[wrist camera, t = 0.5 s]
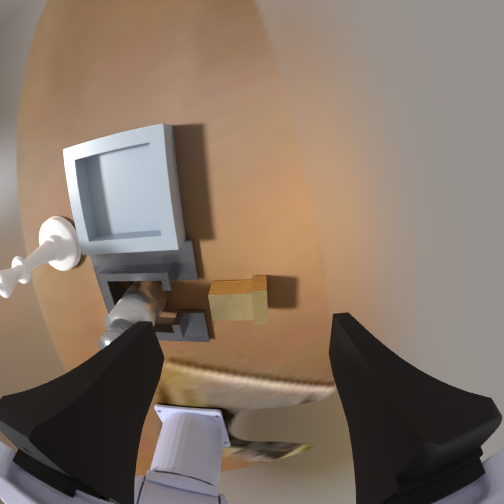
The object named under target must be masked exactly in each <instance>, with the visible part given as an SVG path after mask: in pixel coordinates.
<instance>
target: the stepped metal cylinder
mask: <svg viewBox="0 0 504 504" xmlns="http://www.w3.org/2000/svg"><path fill="white" fill-rule="evenodd" d="M166 303H167V293H166V291H163V287H162V285H161V284H160V283H159V282H158V281H134V283H133V284H132V285H131V286H130V287H129V289H128V290H127V291H126V292H125V294H124V295H123V296H122V298H121V299H120V300H119V301H118V303H117V304H116V305H115V307H114V308H113V309H112V310H111V312H110V313H109V314H108V316H107V317H106V319H105V328H106V331H105V333H104V334H103V335H102V337H101V338H100V340H99V343H98V344H99V348H100V350H102V349H103V348H105V347H106V346H107V345H108V344H110V343H111V342H112V341H113V340H115V339H116V338H117V337H118V336H120V335H121V334H122V333H123V332H125V331H126V330H127V329H128V328H130V327H131V326H132V325H134V324H135V323H137V322H138V321H152V324H153V327H154V326H155V324H156V322H157V320H158V318H159V316H160V314H161V312H162V310H163V309H164V307H165V305H166Z"/></svg>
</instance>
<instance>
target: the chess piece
mask: <svg viewBox="0 0 504 504" xmlns="http://www.w3.org/2000/svg"><path fill="white" fill-rule="evenodd" d="M39 243H40V246H39V247H38V248H37V249H36V250H35V251H34V252H33V253H32V254H31V255H30V256H28V257H27V258H26V259H25V260H23V259H22V258H21V257H19V256H17V257H15V258H14V259H13V261H12V268H9V269H5V270H0V295H1V296H3V297H5V298H8V297H10V295H11V294H12V292H13V290H14V288H15V286H16V285H17V283H18V281H20V282H21V283H24V284H25V283H28V282H29V281H30V278H31V275H30V271H32V270H34V269H35V268H37V267H39V266H41V265H43V264H45V263H47V262H48V263H49V264H50V265H51V266H53V267H54V268H56V269H58V270H61V271H66V270H69V269H71V268H73V267H75V266H76V265H77V264H78V262H79V260H80V257H81V248H80V244H79V240H78V236H77V231H76V230H75V228H74V227H73V225H72V224H71V223H70V222H69V221H68V220H67V219H65V218H63V217H61V216H53V217H51V218H49V219H48V220H47V221H45V222H44V223H43V225H42V227H41V229H40V233H39Z"/></svg>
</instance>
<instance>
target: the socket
mask: <svg viewBox="0 0 504 504" xmlns="http://www.w3.org/2000/svg"><path fill="white" fill-rule="evenodd" d="M90 256H91V260H92V263H93V267H94V270H95V274H96V277H97V280H98V284H99V287H100V290H101V293H102V296H103V299H104V302H105V305H106V308H107V310H108V313H110V312H111V310H112V309H113V308H114V307H115V305H116V304H117V303H118V301H119V300H120V299H121V298H122V296H123V295H124V294H125V292H124V289H123V285H122V282H121V281H161V283H162V287H163V291H171V290H172V288H173V286H174V285H175V283H176V281H177V280H191V279H198V277H199V275H198V269H197V263H196V256H195V250H194V243H193V239H186V240H185V241H184V243H183V244H182V246H181V247H180V248H179V250H163V251H145V252H128V253H111V254H94V255H90ZM154 330H155V333H156V335H157V338H158V340H165V341H194V342H209V341H210V336H209V331H208V326H207V321H206V315H205V310H178V312H177V315H176V317H175V318H158V320H157V322H156V324H155V326H154Z"/></svg>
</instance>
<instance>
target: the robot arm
mask: <svg viewBox="0 0 504 504" xmlns="http://www.w3.org/2000/svg"><path fill="white" fill-rule="evenodd" d="M329 357H330V362H331V368H332V373H333V377H334V380H335V383H336V386H337V389H338V393H339V396H340V399H341V402H342V405H343V409H344V412H345V415H346V419H347V422H348V427H349V433H350V439H351V445H352V453H353V461H354V471H355V484H356V504H504V448H502V449H501V450H500V451H498V452H497V453H495V454H494V455H492V456H491V457H489V458H488V459H486V460H485V461H484V462H482V463H481V460H480V458H479V457H481V456H482V455H483V451H482V449H481V447H480V446H481V445H482V444H483V443H484V442H485V441H486V440H487V439H488V438H489V437H490V436H491V435H492V434H493V433H494V432H495V430H496V429H497V428H498V427H499V425H500V423H501V421H502V415H501V413H500V412H499V410H498V408H497V407H496V405H495V403H494V402H493V400H492V399H491V398H488V397H484V396H481V395H477V394H474V393H470V392H466V391H464V390H461V389H458V388H456V387H453V386H451V385H448V384H446V383H444V382H441V381H439V380H437V379H435V378H433V377H431V376H429V375H428V374H426V373H424V372H422V371H420V370H419V369H417V368H416V367H414V366H412V365H411V364H409V363H408V362H406V361H405V360H403V359H401V358H400V357H399V356H398V355H396V354H395V353H394V352H392V351H391V350H390V349H388V348H387V347H386V346H385V345H383V344H382V343H381V342H380V341H379V340H378V339H376V338H375V337H374V336H373V335H372V334H371V333H369V331H368V330H366V329H365V328H364V327H363V326H362V325H361V324H360V323H359V322H358V321H357V320H356V319H355V318H354V317H352V316H351V315H350V314H349V313H348V312H347V313H338V314H333V320H332V329H331V338H330V347H329ZM163 362H164V355H163V352H162V350H161V347H160V344H159V341H158V338H157V335H156V333H155V330H154V327H153V324H152V321H138V322H137V323H135V324H134V325H132V326H131V327H130V328H128V329H127V330H126V331H125V332H123V333H122V334H121V335H120V336H118V337H117V338H116V339H115V340H113V341H112V342H111V343H110V344H108V345H107V346H106V347H105V348H103V349H102V350H101V351H99V352H98V353H96V354H95V355H94V356H92V357H91V358H90V359H88V360H87V361H85V362H84V363H82V364H81V365H79V366H78V367H76V368H74V369H73V370H71V371H69V372H68V373H66V374H64V375H63V376H60V377H58V378H56V379H54V380H52V381H50V382H48V383H45V384H43V385H40V386H38V387H36V388H33V389H30V390H26V391H23V392H19V393H16V394H11V395H7V396H3V397H2V398H1V399H0V431H1V432H2V433H3V434H4V435H5V436H6V437H7V438H8V439H9V440H10V441H11V442H12V443H13V444H14V445H15V446H16V447H17V448H18V451H17V453H16V452H15V451H13V450H12V449H11V448H9V447H8V446H7V445H5V444H4V443H2V442H1V441H0V499H1V500H2V501H3V502H4V503H5V504H111V503H114V504H229V501H228V500H227V498H226V497H225V496H224V494H219V487H217V484H218V482H219V479H220V470H221V461H222V452H223V447H230V446H231V443H230V440H229V437H228V433H227V430H226V426H225V423H224V419H223V416H222V412H221V411H220V410H218V409H201V408H188V407H177V406H167V405H159V404H156V405H155V406H154V408H155V410H156V412H157V414H158V416H159V417H160V419H161V421H162V423H163V426H162V429H161V432H160V436H159V439H158V443H157V446H156V450H155V454H154V457H153V461H152V465H151V468H150V470H148V471H147V475H146V477H145V476H144V475H139V476H137V477H135V471H136V461H137V455H138V448H139V442H140V438H141V433H142V428H143V424H144V421H145V418H146V415H147V412H148V410H149V407H150V404H151V401H152V399H153V396H154V393H155V390H156V388H157V385H158V382H159V379H160V376H161V372H162V367H163ZM101 499H102V500H101ZM103 500H105V501H103ZM106 501H107V502H106ZM109 502H111V503H109Z"/></svg>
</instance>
